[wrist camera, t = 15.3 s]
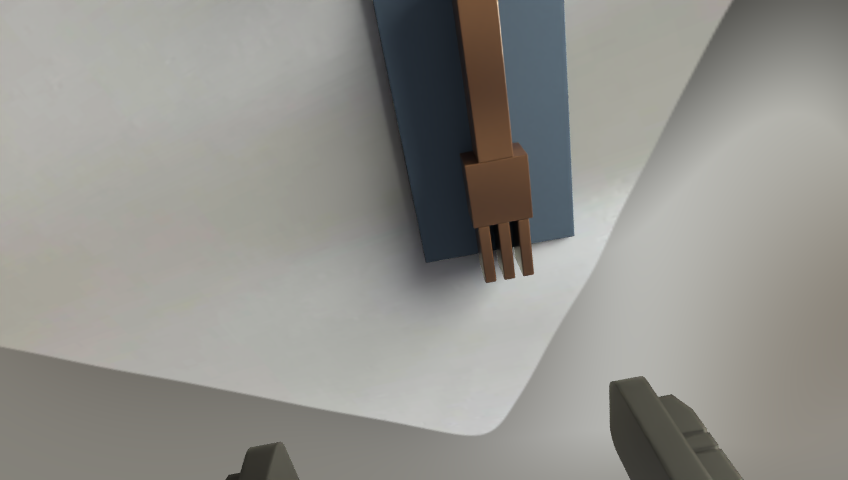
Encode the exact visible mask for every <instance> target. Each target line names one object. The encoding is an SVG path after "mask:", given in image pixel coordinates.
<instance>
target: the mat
mask: <svg viewBox="0 0 848 480" xmlns="http://www.w3.org/2000/svg"><path fill="white" fill-rule="evenodd" d="M373 5H374V10H375V15H376V19H377V24H378V29H379V34H380V39H381V44H382V49H383V54H384V59H385V64H386V68H387V73H388V78H389V83H390V88H391V93H392V98H393V103H394V108H395V113H396V118H397V122H398V127H399V132H400V137H401V142H402V147H403V152H404V157H405V162H406V167H407V171H408V176H409V181H410V186H411V191H412V196H413V201H414V206H415V211H416V216H417V220H418V225H419V230H420V235H421V240H422V245H423V250H424V255H425V260H426V263H428V262H434V261H439V260H445V259H450V258H456V257H461V256H467V255H472V254H478V247H477V240H476V233H475V228H473V225H472V222H471V219H470V215H469V212H468V206H467V200H466V193H465V187H464V180H463V173H462V167H461V160H460V153H464V152H469V151H473V150H472V143H471V136H470V128H469V121H468V114H467V107H466V99H465V92H464V85H463V78H462V71H461V63H460V56H459V49H458V42H457V34H456V27H455V20H454V13H453V6H452V0H373ZM498 6H499V16H500V26H501V36H502V46H503V56H504V66H505V76H506V87H507V97H508V107H509V117H510V127H511V137H512V143H516V142H518V143H519V144H520V145H521V146H522V148H523V149H524V150H525V152H526V153H527V154H528V163H529V175H530V187H531V198H532V210H533V218H529V225H530V236H531V244H532V243H538V242H543V241H549V240H554V239H560V238H565V237H571V236H574V220H573V197H572V174H571V151H570V128H569V105H568V82H567V59H566V36H565V13H564V0H498ZM509 226H510V235H511V244H512V247H514V241H513V232H512V223H511V222H509ZM489 228H490V235H491V243H492V251H494V250H496V244H495V236H494V229H493V225H490V226H489Z"/></svg>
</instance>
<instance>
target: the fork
mask: <svg viewBox="0 0 848 480" xmlns="http://www.w3.org/2000/svg"><path fill="white" fill-rule="evenodd" d="M452 6H453V13H454V20H455V27H456V34H457V42H458V49H459V56H460V63H461V71H462V78H463V85H464V92H465V99H466V107H467V114H468V121H469V128H470V136H471V143H472V150H473V151H469V152H464V153H460V160H461V167H462V173H463V180H464V187H465V193H466V200H467V206H468V212H469V215H470V219H471V222H472V225H473V228H475V233H476V240H477V247H478V254H479V260H480V266H481V269H482V272H483V275H484V279H485V282H486V283H489V282H495V281H496V273H495V266H494V258H493V251H492V243H491V235H490V228H489V226H490V225H493V229H494V236H495V244H496V252H497V260H498V263H499V266H500V269H501V271H502V274H503V277H504V279H505V280H507V279H512V278H515V271H514V262H513V253H512V244H511V235H510V226H509V222H511V223H512V232H513V241H514V250H515V258H516V260H517V263H518V265H519V267H520V270H521V272H522V274H523V276H528V275H533V274H534V269H533V258H532V247H531V236H530V225H529V218H533V210H532V198H531V187H530V175H529V163H528V154H527V153H526V152H525V150H524V149H523V148H522V146H521V145H520V144H519V143H518V142H516V143H512V137H511V127H510V117H509V107H508V97H507V87H506V76H505V66H504V56H503V46H502V36H501V26H500V16H499V6H498V0H452Z"/></svg>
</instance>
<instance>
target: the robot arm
mask: <svg viewBox="0 0 848 480" xmlns="http://www.w3.org/2000/svg"><path fill="white" fill-rule="evenodd" d="M609 395H610V396H609V399H610V431H611V436H612V440H613V443H614V446H615V448H616V451H617V453H618V455H619V457H620V459H621V461H622V463H623V465H624V467H625V470H626V472H627V474H628V476H629V478H630V480H743V479H742V477H741V476H740V474H739V473H738V471H737V470H736V469H735V467H734V466H733V465H732V463H731V462H730V460H729V459H728V458H727V456H726V455H725V453H724V452H723V451H722V449H719V447H718V444H717V442H716V441H715V440H714V438H713V437H712V435H711V434H710V433H708V432H707V429H706V427H705V426H704V424H703V423H702V422H701V420H700V419H699V418H698V416H697V415H696V413H695V412H694V411H693V409H691V408H690V407H688V406H687V405H686V404H684V403H683V402H682V401H680V400H679V399H677V398H676V397H675V396H673V395H672V394H671V395H666V396H661V397H658V396H657V395H656V393H655V392H654V390H653V389H652V387H651V386H650V384H649V383H648V381H647V380H646V379H645V378H644V377H643V376H639V377H634V378H628V379H623V380H618V381H612V382H610V386H609ZM226 480H299V478H298V476H297V473H296V471H295V469H294V467H293V464H292V462H291V460H290V458H289V455H288V453H287V450H286V448H285V446H284V444H283V443H281V442H277V443H272V444H267V445H261V446H256V447H250V448H249V449H248V451H247V453H246V455H245V459H244V462H243V465H242V469H241V472H240V473H237V474H231V475H229V476H228V477H227V478H226Z"/></svg>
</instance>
